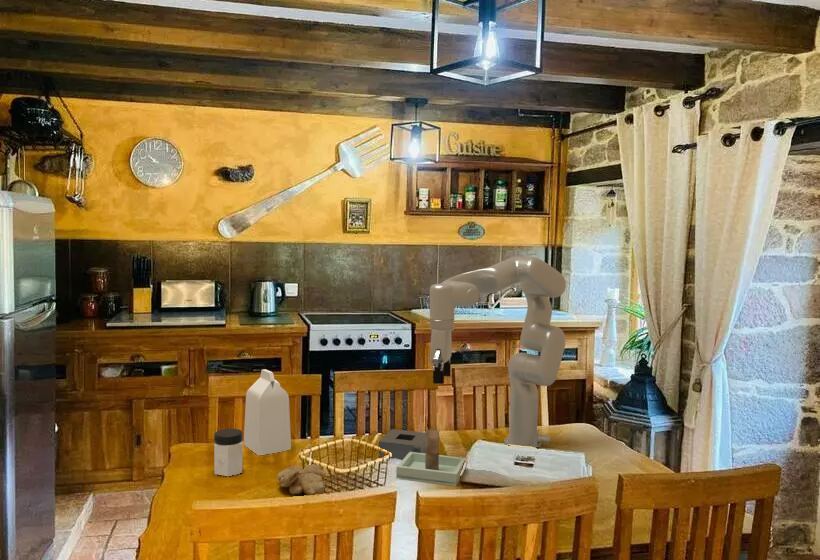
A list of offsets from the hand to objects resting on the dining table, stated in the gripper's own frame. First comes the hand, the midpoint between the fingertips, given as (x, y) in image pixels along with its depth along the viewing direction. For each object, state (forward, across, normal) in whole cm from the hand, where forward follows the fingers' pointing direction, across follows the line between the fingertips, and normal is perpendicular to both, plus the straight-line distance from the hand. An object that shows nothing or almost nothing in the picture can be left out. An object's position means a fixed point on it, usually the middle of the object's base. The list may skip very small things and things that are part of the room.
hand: (442, 379), depth 202 cm
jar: (+26, +24, -60) cm, 70 cm away
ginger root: (+26, +30, -34) cm, 52 cm away
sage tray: (+27, +7, -2) cm, 28 cm away
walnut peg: (+26, +7, -2) cm, 27 cm away
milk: (+27, +2, -59) cm, 65 cm away
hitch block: (+27, -9, -14) cm, 32 cm away
